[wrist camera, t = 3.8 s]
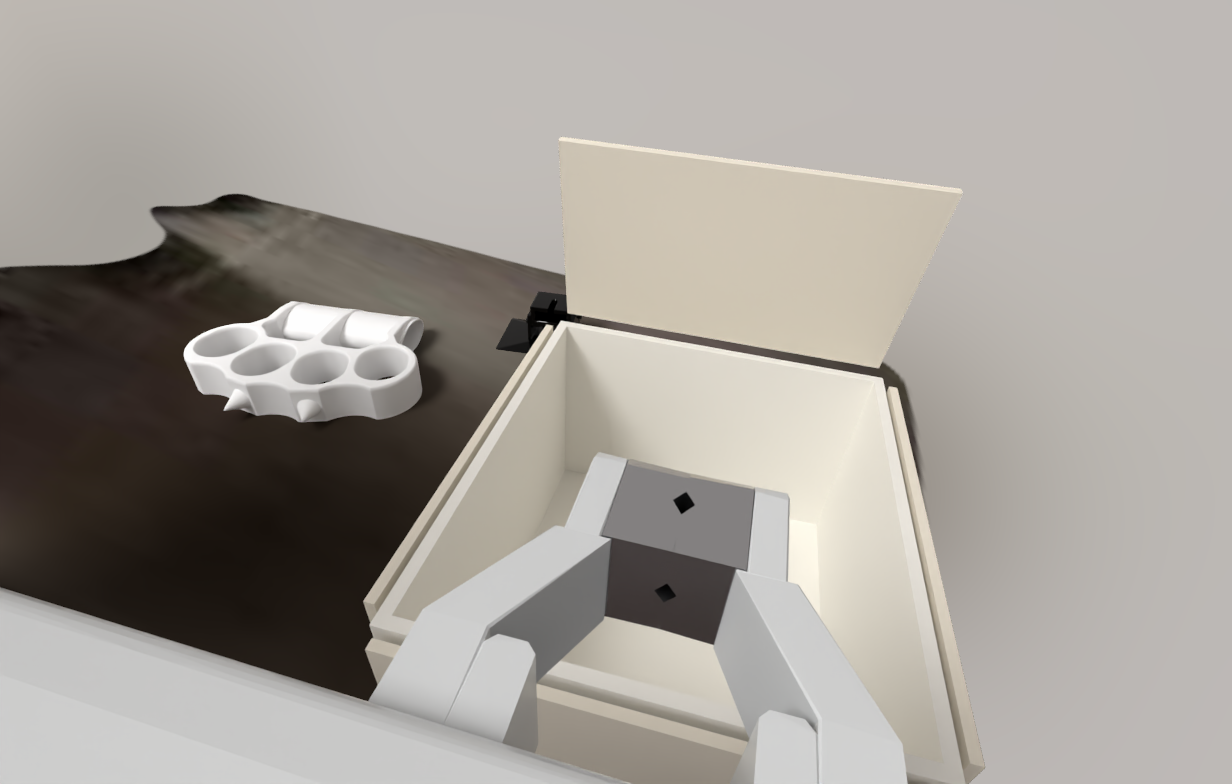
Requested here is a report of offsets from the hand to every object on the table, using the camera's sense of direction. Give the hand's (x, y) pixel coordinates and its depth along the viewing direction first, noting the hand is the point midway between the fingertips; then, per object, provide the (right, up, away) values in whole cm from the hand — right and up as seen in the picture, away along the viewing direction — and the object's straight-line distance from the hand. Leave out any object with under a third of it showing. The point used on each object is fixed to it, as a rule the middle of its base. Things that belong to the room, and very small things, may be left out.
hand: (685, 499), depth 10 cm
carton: (+1, -11, +23) cm, 26 cm away
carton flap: (+5, +8, +20) cm, 22 cm away
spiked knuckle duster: (-25, +3, +40) cm, 47 cm away
